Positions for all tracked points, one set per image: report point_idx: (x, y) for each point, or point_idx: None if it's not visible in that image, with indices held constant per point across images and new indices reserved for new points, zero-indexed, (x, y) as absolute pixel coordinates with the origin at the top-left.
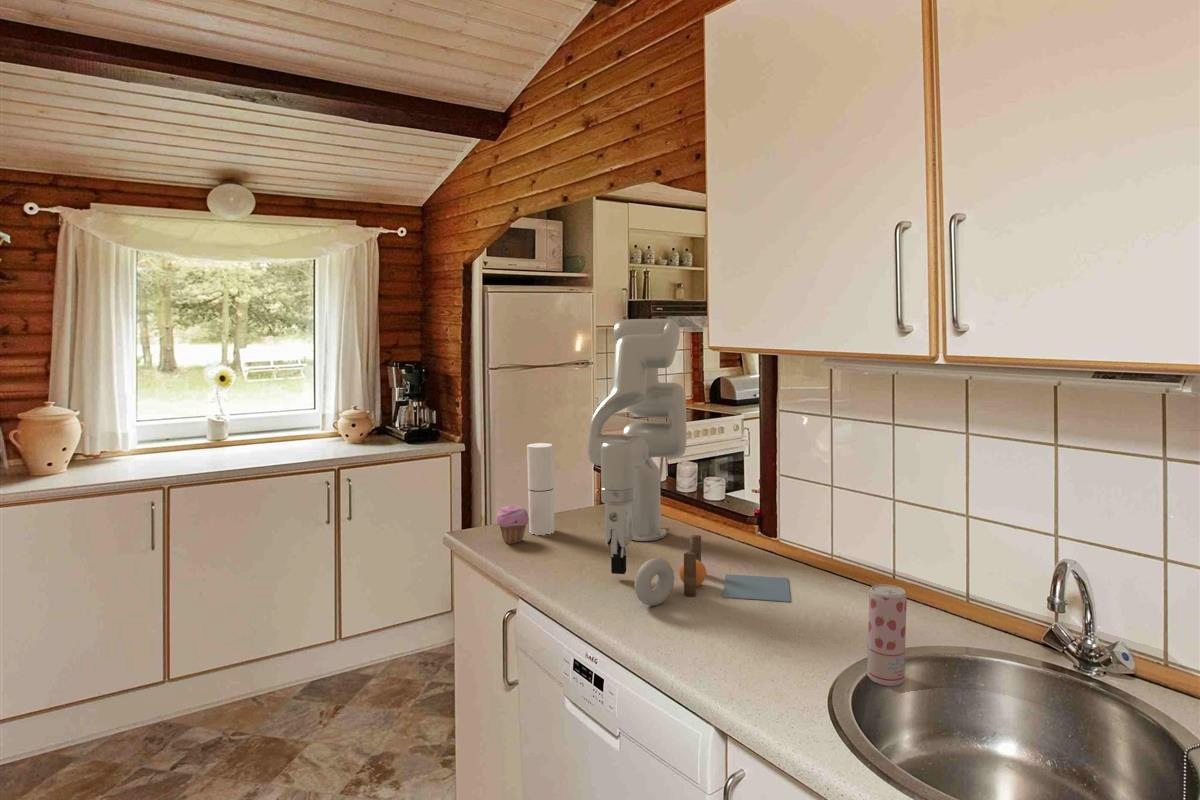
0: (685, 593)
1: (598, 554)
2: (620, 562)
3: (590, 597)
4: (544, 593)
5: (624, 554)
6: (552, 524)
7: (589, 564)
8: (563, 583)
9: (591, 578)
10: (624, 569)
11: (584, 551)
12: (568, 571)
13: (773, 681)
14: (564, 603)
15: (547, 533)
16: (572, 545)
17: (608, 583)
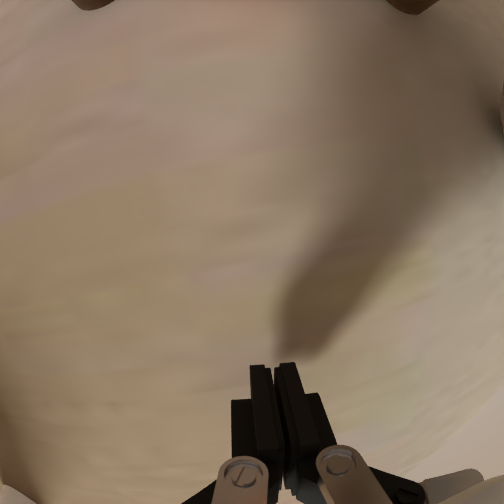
0: (426, 8)
1: (39, 443)
2: (330, 431)
3: (457, 382)
4: (405, 473)
5: (259, 461)
6: (9, 501)
7: (133, 469)
8: None
9: None
10: (298, 379)
11: (47, 467)
12: None
13: None
14: (473, 412)
15: (27, 499)
16: (35, 479)
17: (334, 390)
